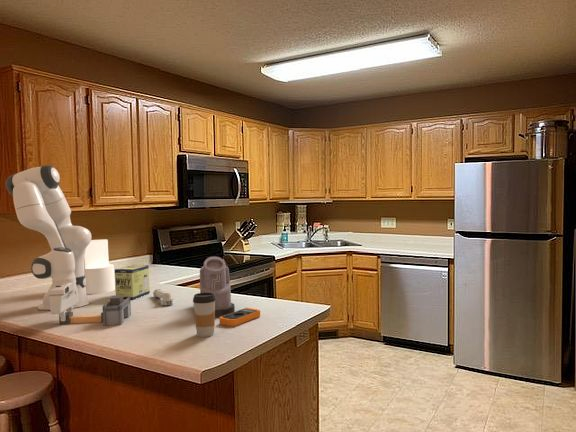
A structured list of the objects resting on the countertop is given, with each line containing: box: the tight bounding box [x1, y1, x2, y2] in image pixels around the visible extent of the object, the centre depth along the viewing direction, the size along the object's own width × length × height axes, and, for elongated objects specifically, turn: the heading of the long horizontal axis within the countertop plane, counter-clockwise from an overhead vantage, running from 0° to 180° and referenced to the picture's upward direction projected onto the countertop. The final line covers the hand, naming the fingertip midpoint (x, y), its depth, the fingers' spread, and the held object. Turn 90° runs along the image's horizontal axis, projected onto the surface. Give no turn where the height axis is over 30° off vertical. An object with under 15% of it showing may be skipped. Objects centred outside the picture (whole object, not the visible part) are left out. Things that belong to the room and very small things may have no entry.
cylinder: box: [84, 238, 116, 295], centre depth 252 cm, size 17×17×28 cm
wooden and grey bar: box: [58, 311, 103, 325], centre depth 189 cm, size 24×4×4 cm, turn 94°
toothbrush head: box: [152, 288, 174, 306], centre depth 223 cm, size 5×7×25 cm
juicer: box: [199, 256, 236, 319], centre depth 203 cm, size 30×16×24 cm, turn 15°
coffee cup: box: [192, 292, 216, 338], centre depth 167 cm, size 8×8×15 cm
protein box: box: [114, 264, 151, 301], centre depth 235 cm, size 10×16×16 cm
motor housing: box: [102, 295, 132, 327], centre depth 190 cm, size 7×15×10 cm, turn 4°
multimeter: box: [219, 307, 261, 328], centre depth 185 cm, size 9×18×3 cm, turn 145°
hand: (66, 319), depth 189 cm, fingers closed on wooden and grey bar, 4 cm apart
